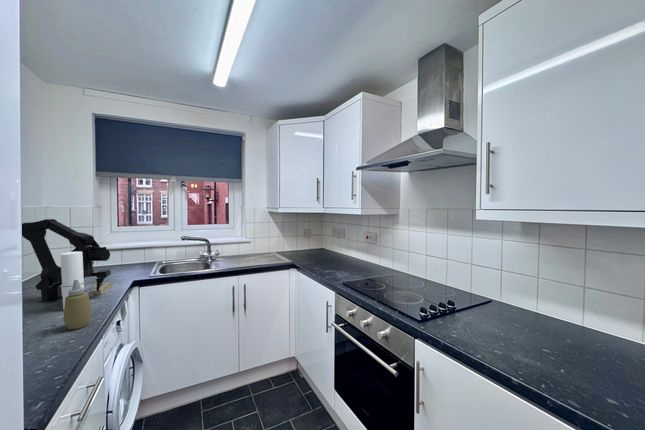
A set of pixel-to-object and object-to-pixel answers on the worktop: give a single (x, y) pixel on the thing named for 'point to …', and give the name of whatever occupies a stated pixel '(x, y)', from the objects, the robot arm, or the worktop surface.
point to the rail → (102, 288)
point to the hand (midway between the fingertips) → (86, 292)
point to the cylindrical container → (71, 271)
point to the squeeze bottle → (77, 307)
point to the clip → (89, 290)
